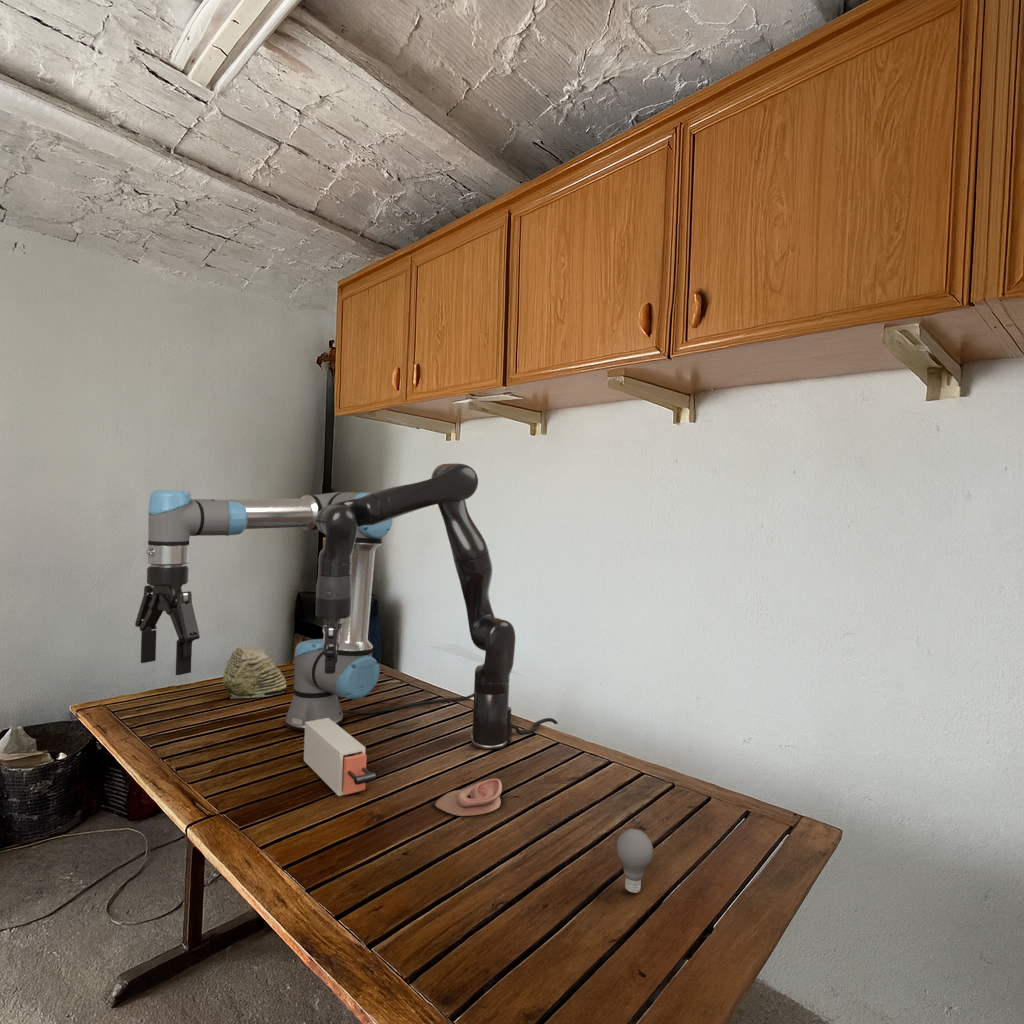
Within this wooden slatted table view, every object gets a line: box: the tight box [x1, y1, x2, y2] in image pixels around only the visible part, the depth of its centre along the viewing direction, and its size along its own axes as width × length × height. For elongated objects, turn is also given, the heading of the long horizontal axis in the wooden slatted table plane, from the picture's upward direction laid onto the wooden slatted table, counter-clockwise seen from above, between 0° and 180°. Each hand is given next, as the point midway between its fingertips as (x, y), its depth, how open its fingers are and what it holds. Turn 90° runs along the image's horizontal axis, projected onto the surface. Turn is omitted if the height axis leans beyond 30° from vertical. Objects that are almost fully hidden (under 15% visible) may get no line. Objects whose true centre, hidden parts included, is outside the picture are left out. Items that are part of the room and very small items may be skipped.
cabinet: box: [303, 718, 367, 797], centre depth 145 cm, size 22×6×9 cm, turn 38°
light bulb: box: [615, 828, 654, 894], centre depth 106 cm, size 6×6×10 cm
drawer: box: [342, 752, 377, 796], centre depth 141 cm, size 26×5×8 cm, turn 37°
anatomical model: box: [434, 778, 503, 817], centre depth 133 cm, size 13×4×12 cm
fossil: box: [222, 646, 288, 699], centre depth 198 cm, size 9×18×15 cm, turn 132°
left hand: (165, 667), depth 131 cm, fingers open, 13 cm apart
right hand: (331, 667), depth 140 cm, fingers open, 8 cm apart
